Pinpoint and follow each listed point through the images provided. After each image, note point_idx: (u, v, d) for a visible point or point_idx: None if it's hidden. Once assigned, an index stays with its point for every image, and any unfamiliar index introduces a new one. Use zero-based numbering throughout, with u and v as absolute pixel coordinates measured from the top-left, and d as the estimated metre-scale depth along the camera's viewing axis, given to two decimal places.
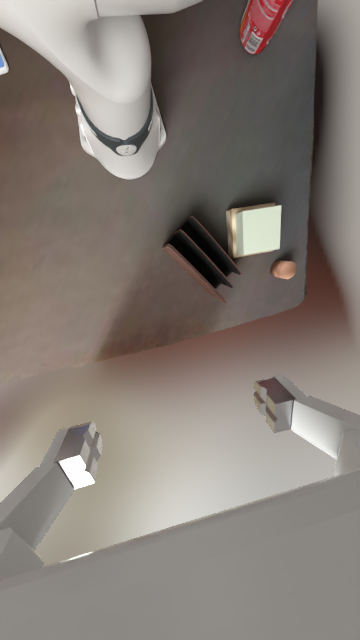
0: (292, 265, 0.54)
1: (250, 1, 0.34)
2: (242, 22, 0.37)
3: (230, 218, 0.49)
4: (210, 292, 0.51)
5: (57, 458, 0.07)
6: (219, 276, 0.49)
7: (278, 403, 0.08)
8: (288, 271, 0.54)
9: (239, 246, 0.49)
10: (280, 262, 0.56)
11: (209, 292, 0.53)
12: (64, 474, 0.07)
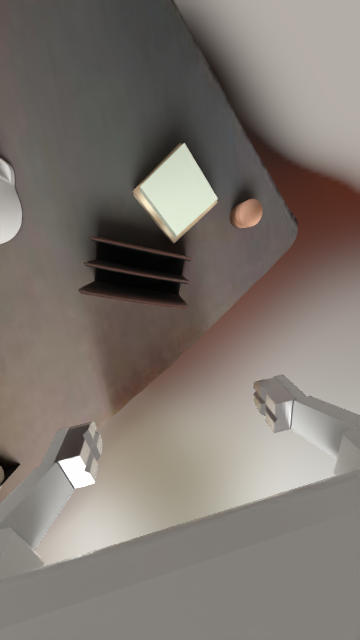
0: (251, 203, 0.38)
1: None
2: None
3: (140, 201, 0.37)
4: None
5: (57, 458, 0.07)
6: None
7: (278, 403, 0.08)
8: (251, 214, 0.39)
9: (168, 227, 0.37)
10: (236, 209, 0.40)
11: None
12: (64, 474, 0.07)
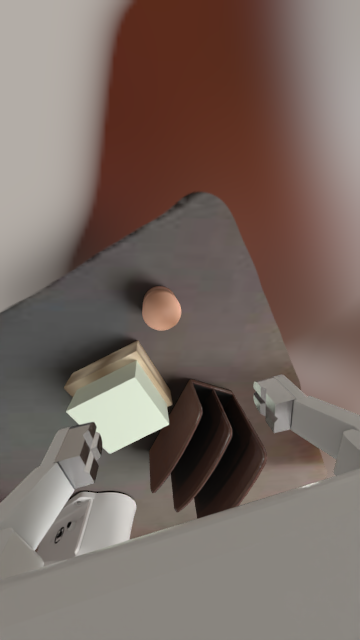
0: (149, 310, 0.24)
1: None
2: None
3: None
4: None
5: (56, 459, 0.07)
6: None
7: (278, 403, 0.08)
8: (164, 311, 0.24)
9: None
10: None
11: None
12: (64, 474, 0.07)
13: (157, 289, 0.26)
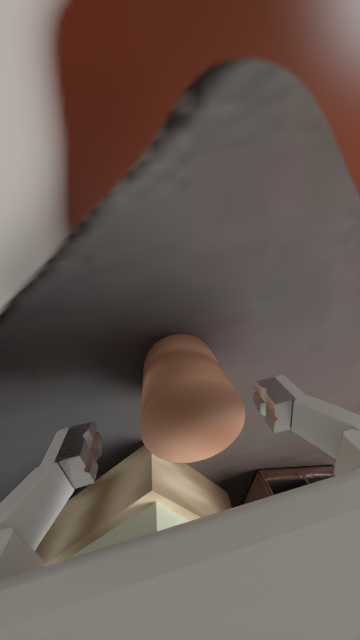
0: (160, 431, 0.09)
1: None
2: None
3: None
4: None
5: (57, 458, 0.07)
6: None
7: (278, 403, 0.08)
8: (201, 422, 0.09)
9: None
10: None
11: None
12: (64, 474, 0.07)
13: (169, 354, 0.10)
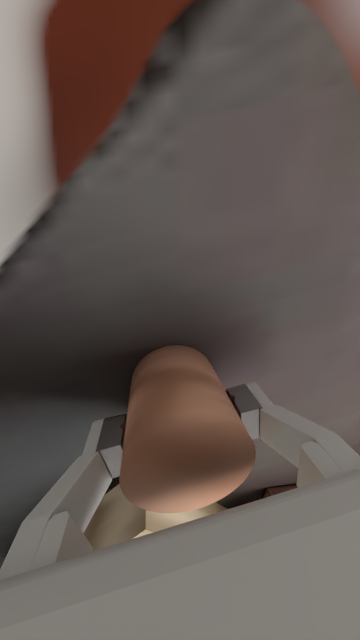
0: (146, 481, 0.07)
1: None
2: None
3: None
4: None
5: (98, 448, 0.07)
6: None
7: (244, 412, 0.08)
8: (199, 467, 0.07)
9: None
10: None
11: None
12: (104, 463, 0.07)
13: (157, 375, 0.08)
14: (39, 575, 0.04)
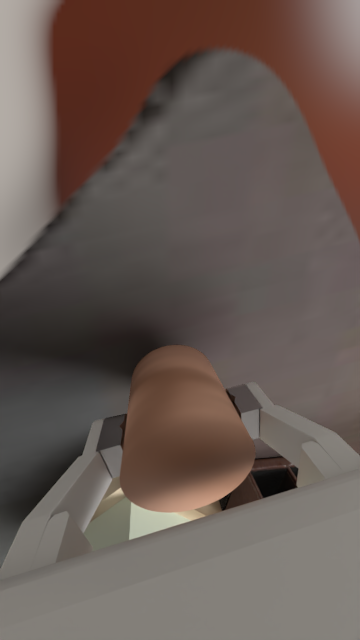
0: (146, 480, 0.07)
1: None
2: None
3: None
4: None
5: (98, 448, 0.07)
6: None
7: (244, 412, 0.08)
8: (199, 466, 0.07)
9: None
10: None
11: None
12: (104, 463, 0.07)
13: (157, 375, 0.08)
14: (39, 575, 0.04)
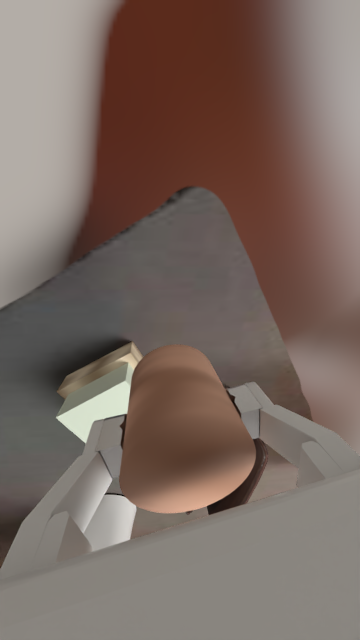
0: (146, 481, 0.07)
1: None
2: None
3: None
4: None
5: (98, 448, 0.07)
6: None
7: (244, 412, 0.08)
8: (199, 467, 0.07)
9: None
10: None
11: None
12: (104, 463, 0.07)
13: (157, 374, 0.08)
14: (39, 575, 0.04)
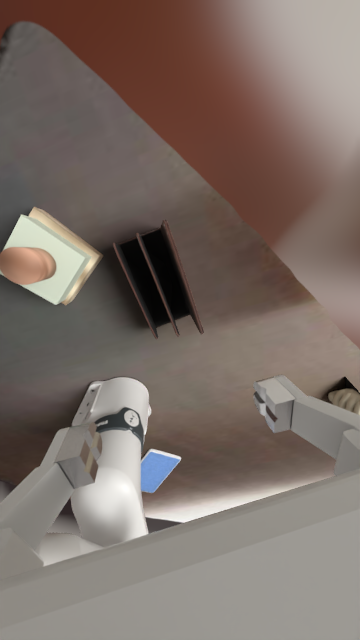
0: (9, 271, 0.26)
1: None
2: None
3: (72, 296, 0.37)
4: None
5: (56, 459, 0.07)
6: None
7: (278, 403, 0.08)
8: (20, 264, 0.26)
9: (83, 267, 0.33)
10: None
11: None
12: (64, 474, 0.07)
13: None
14: (39, 575, 0.04)
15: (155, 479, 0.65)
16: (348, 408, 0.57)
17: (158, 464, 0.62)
